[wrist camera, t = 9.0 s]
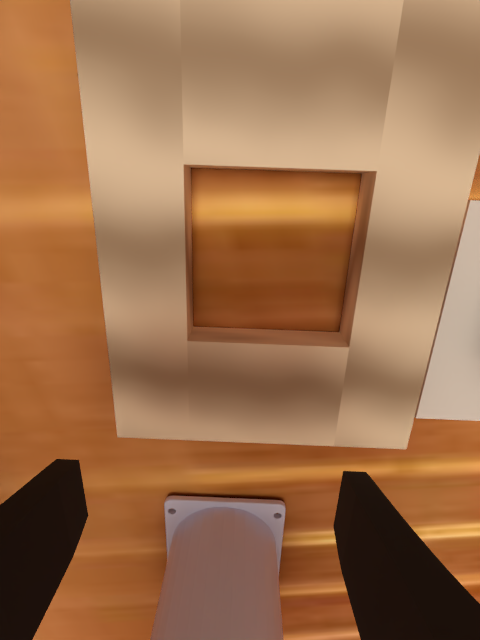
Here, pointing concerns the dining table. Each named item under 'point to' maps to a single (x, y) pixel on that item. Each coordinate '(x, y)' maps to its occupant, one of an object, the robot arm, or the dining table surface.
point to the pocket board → (279, 155)
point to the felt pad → (457, 335)
